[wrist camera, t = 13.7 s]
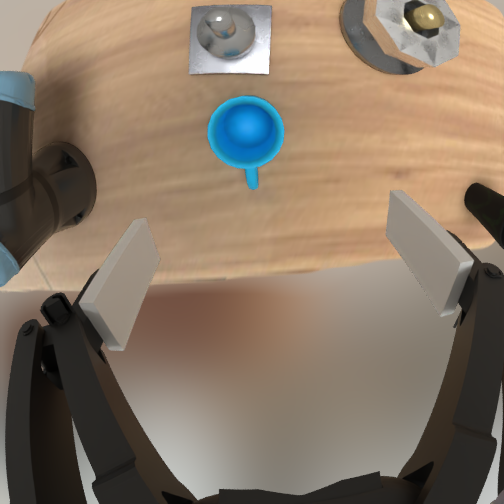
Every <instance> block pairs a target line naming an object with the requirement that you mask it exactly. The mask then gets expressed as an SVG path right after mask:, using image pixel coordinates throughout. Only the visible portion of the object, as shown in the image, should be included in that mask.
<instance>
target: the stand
mask: <svg viewBox="0 0 504 504" xmlns="http://www.w3.org/2000/svg"><path fill="white" fill-rule="evenodd" d="M271 14H272V6H269V5H212V6H198V7H192V12H191V28H190V50H189V74H191V75H194V74H223V73H237V74H267V75H268V74H269V57H270V36H271Z"/></svg>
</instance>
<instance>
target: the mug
mask: <svg viewBox="0 0 504 504" xmlns="http://www.w3.org/2000/svg"><path fill="white" fill-rule="evenodd" d="M208 140H209V143H210V147H211V149H212V150H213V152H214V153H215V154H216V156H217V157H218V158H219V159H220V160H222V161H223V162H224V163H226V164H227V165H230V166H233V167H236V168H242V169H245V173H246V179H247V184H248V187H249V189H252V190H255V189H257V188H258V169H257V167H260V166H262V165H264V164H266V163H267V162H269V161H271V160H272V159H273V158H274V156H275V155H276V154H277V153H278V152H279V150H280V148H281V146H282V143H283V140H284V126H283V122H282V118H281V117H280V115H279V114H278V112H277V111H276V109H275V108H274V107H273V106H272V105H271V104H270V103H268V102H267V101H266V100H265V99H262V98H260V97H257V96H250V95H244V96H240V97H236V98H233V99H229V100H228V101H226V102H225V103H223V104H222V105H220V106H219V107H218V108H217V109H216V111H215V112H214V113H213V114H212V116H211V119H210V121H209V124H208Z"/></svg>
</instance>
